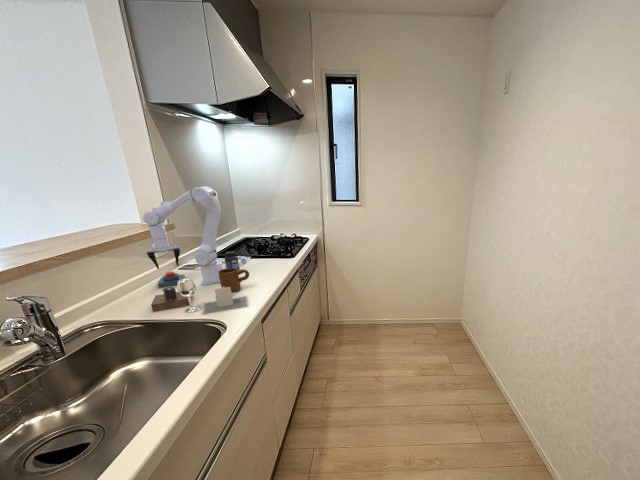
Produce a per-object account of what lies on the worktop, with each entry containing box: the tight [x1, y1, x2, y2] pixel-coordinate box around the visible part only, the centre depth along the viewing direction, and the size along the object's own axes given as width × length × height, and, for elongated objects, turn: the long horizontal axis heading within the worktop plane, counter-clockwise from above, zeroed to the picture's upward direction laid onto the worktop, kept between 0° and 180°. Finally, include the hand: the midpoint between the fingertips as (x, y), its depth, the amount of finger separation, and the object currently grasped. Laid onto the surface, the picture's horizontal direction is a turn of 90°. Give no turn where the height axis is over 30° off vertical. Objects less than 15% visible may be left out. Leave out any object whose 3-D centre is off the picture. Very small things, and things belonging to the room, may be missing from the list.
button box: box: [157, 272, 187, 289], centre depth 149 cm, size 10×10×4 cm
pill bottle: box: [224, 250, 241, 271], centre depth 162 cm, size 6×6×11 cm
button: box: [164, 271, 176, 277], centre depth 148 cm, size 4×4×2 cm
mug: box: [219, 268, 250, 293], centre depth 138 cm, size 12×8×9 cm, turn 111°
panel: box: [150, 291, 192, 313], centre depth 126 cm, size 12×11×3 cm
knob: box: [162, 286, 177, 299], centre depth 124 cm, size 4×4×4 cm
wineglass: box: [176, 278, 200, 313], centre depth 118 cm, size 6×6×12 cm
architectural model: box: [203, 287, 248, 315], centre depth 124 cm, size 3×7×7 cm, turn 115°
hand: (168, 266), depth 147 cm, fingers open, 7 cm apart
